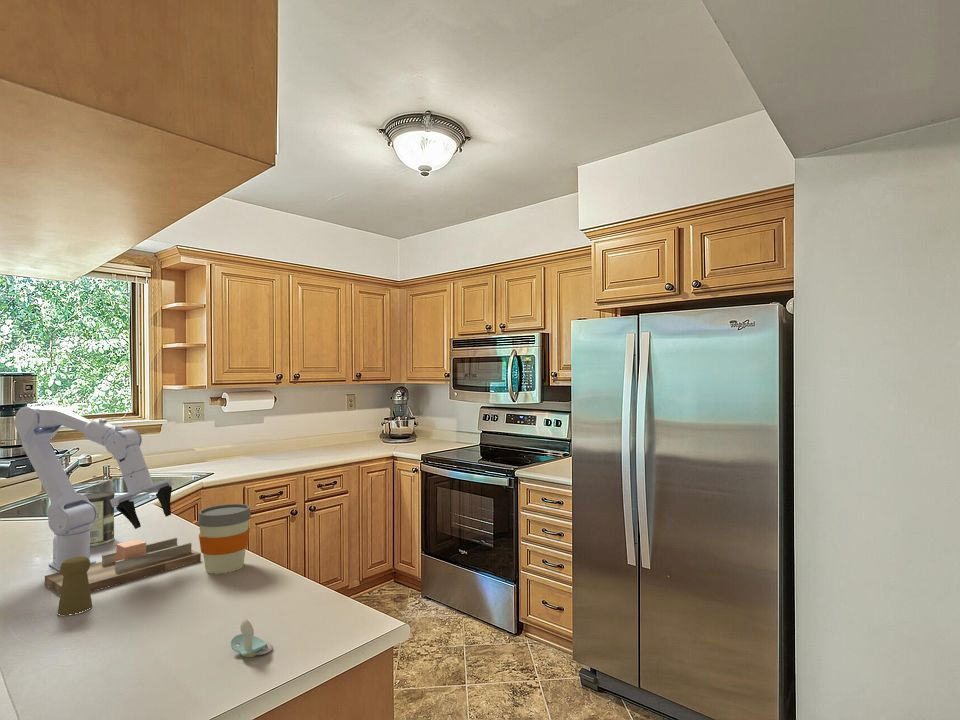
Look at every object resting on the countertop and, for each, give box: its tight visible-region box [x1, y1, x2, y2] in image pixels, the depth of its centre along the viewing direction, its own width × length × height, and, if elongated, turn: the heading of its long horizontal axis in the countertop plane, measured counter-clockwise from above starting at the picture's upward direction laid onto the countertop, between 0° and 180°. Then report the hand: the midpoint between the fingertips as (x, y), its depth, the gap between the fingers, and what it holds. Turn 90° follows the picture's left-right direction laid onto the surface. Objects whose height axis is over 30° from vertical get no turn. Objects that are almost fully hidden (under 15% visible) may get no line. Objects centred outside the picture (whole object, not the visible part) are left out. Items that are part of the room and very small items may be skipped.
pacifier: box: [230, 619, 273, 658], centre depth 98 cm, size 7×6×6 cm
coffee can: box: [82, 491, 115, 547], centre depth 165 cm, size 10×10×14 cm
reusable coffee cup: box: [197, 503, 252, 575], centre depth 141 cm, size 13×13×15 cm
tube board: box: [44, 537, 202, 595], centre depth 139 cm, size 15×30×4 cm, turn 144°
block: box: [115, 538, 147, 561], centre depth 140 cm, size 5×5×5 cm
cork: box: [57, 556, 93, 615], centre depth 117 cm, size 6×6×11 cm
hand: (153, 521), depth 142 cm, fingers open, 7 cm apart
